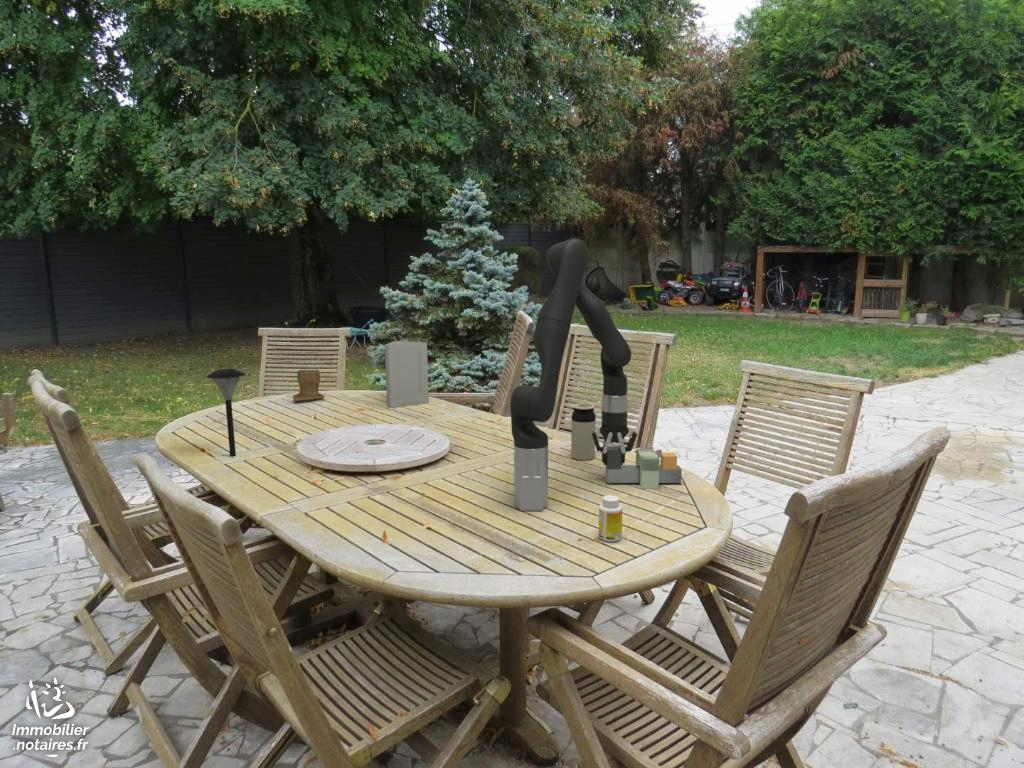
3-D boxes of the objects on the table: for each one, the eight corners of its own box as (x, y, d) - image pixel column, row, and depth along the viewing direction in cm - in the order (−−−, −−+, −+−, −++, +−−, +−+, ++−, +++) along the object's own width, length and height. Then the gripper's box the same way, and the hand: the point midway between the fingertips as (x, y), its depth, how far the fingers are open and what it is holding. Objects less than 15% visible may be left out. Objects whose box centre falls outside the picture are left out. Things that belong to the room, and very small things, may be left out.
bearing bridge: (658, 488, 202) (659, 459, 200) (641, 488, 202) (642, 459, 200) (651, 476, 212) (652, 448, 210) (635, 476, 212) (636, 448, 211)
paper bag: (416, 397, 331) (414, 339, 326) (429, 403, 318) (427, 343, 313) (378, 402, 321) (376, 342, 316) (390, 408, 309) (388, 346, 303)
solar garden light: (212, 454, 239) (204, 369, 233) (249, 449, 244) (243, 366, 239) (215, 463, 228) (207, 374, 222) (254, 458, 233) (247, 371, 228)
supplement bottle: (626, 537, 167) (627, 497, 165) (612, 544, 163) (613, 503, 161) (607, 531, 171) (608, 492, 169) (593, 538, 167) (594, 498, 165)
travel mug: (598, 456, 234) (599, 404, 231) (588, 462, 227) (589, 409, 224) (577, 452, 238) (578, 402, 235) (567, 458, 231) (567, 406, 228)
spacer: (676, 469, 204) (677, 456, 203) (663, 469, 204) (663, 456, 203) (673, 465, 208) (674, 452, 207) (660, 465, 208) (660, 452, 207)
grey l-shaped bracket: (681, 482, 205) (682, 449, 203) (607, 482, 205) (607, 449, 203) (678, 478, 209) (679, 446, 207) (605, 478, 209) (606, 446, 207)
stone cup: (318, 396, 336) (316, 365, 333) (327, 400, 326) (325, 369, 323) (287, 400, 327) (285, 369, 324) (295, 404, 317) (293, 372, 315)
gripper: (591, 411, 199) (590, 468, 202) (640, 411, 199) (639, 468, 202) (589, 406, 207) (588, 460, 210) (636, 406, 206) (635, 460, 210)
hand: (613, 464), depth 206 cm, fingers closed on grey l-shaped bracket, 4 cm apart
